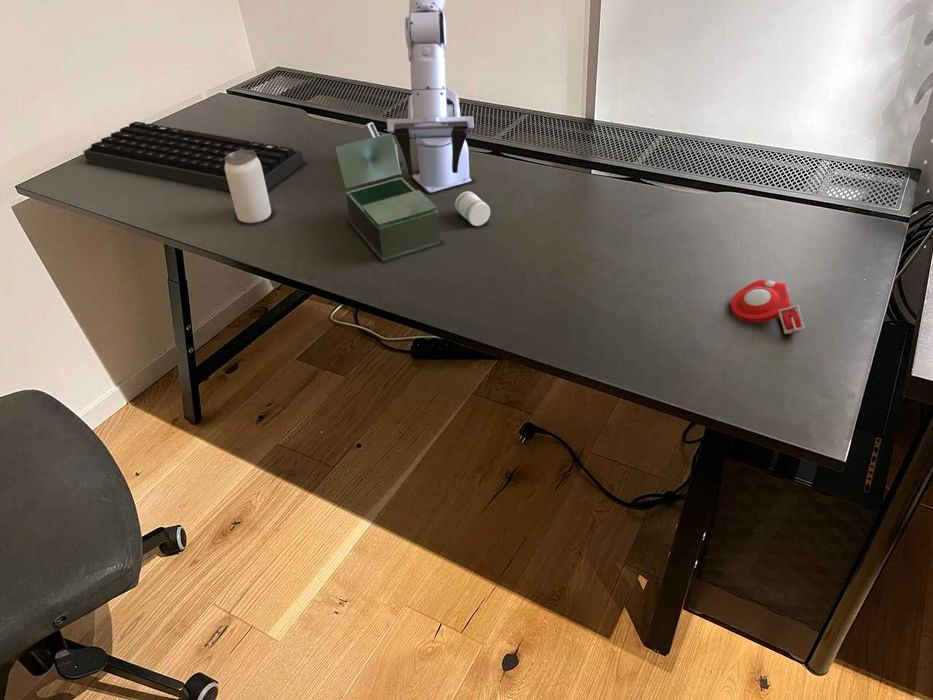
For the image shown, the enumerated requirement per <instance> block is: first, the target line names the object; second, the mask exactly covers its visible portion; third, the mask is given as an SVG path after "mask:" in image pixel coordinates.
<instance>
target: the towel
mask: <svg viewBox="0 0 933 700" xmlns="http://www.w3.org/2000/svg"><path fill="white" fill-rule="evenodd" d="M454 208H455V211H456V212H457V213H458V214H459V215H460V216H462V218H464V219H465V220H466V221H467V222H468V223H469V224H470V225H472V226H474V227H479V226H482V225H484V224H486V223H487V222H488V220H489V219H490V216H491V208H490V206H489V205H488V204H487V203H486V202H485V201H483V200H482V199H481V198H480V197H478V196H477V194H475V192H472V191H470V190H469V191H468V190H467V191H464V192H463V191H462V192H461V193H460V194H459V195H458V196H457V197H456V199H455V203H454Z"/></svg>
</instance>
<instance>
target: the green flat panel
mask: <svg viewBox="0 0 933 700" xmlns="http://www.w3.org/2000/svg"><path fill="white" fill-rule="evenodd" d="M394 144H395V141H394V137H393V133H392V132H389V133H386V134H382V135H379V136H378V137H374V138H370V139H369V138H367V139H366V138H365V139H362V140H359V141H354V142H349V143H346V144H341V145H337V146H334V151H335V155H336V159H337V163H338V167H339V170H340V174H341V178H342V182H343V187H344V189H346V190H347V189H350V188H353V187H358V186H361V185H364V184H368V183H372V182H377V181H380V180H384V179H387V178H391V177H394V176H398V175H401V174H402V171H401V167H400V163H399V162H400V161H399V157H398V158H397V153H396V149H395V145H394Z"/></svg>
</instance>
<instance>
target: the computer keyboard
mask: <svg viewBox="0 0 933 700" xmlns="http://www.w3.org/2000/svg"><path fill="white" fill-rule="evenodd" d="M90 145H91V146H90V147H88V148H87V149H84V150H83V154H84V157H85V159H86V161H87V164H92V165H96V166H102V167H108V168H110V169H111V168H112V169H117V170H122V171H126V172H131V173H136V174H142V175H147V176H151V177H157V178H161V179H166V180H172V181H176V182H181V183H185V184H187V183H188V184H191V185H196V186H201V187H206V188H210V189H215V190H221V191H226V192H230V189H229V185H228V181H227V177H226V173H225V168H224V167H225V162H226V161H225V157H226V156H227V155H228V154H230V153H232V152H235V151H240V150H250V151H253V152H255V153H256V155H257V156H256V157H257V158H258V159H259V160H260V163H261V166H262V171H263V175H264V180H265V184H266V189H267V192H268V191H270V189H272V188H273V187H274V186H276V185H277V184H278V183H280V182H281V181H282V180H284V179H285V178H286V177H287V176H290V174H291V173H293V172H294V171H296V170H297V169H298V168H299V167H301V166H303V164H304V158H303V153H302V151H301V150H295V149H294V148H292V147H287V146H278V145H275V144H270V143H266V144H265V143H264V142H258V141H250V140H246V139H242V138H241V139H240V138H235V137H229V136H223V135H217V134H211V133H205V132H200V131H194V130H187V129H185V130H184V129H182V128H177V127H172V128H171V127H170V126H165V125H158V124H155V123H154V124H153V123H146V122H142V121H133V122H130V123H129V124H128V125H127V126H123V127H121V128H119V131H115V132H112V133H110V136H109V135H108V136H106V137H103V138H100V141H97V142H94V143H91V144H90Z"/></svg>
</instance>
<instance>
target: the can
mask: <svg viewBox="0 0 933 700" xmlns="http://www.w3.org/2000/svg"><path fill="white" fill-rule="evenodd" d="M256 156H257V155H256V153H255V152H253V151H250V150H240V151H235V152H232V153H230V154H228V155H227V156H226V157H225V161H226V162H225V167H224V168H225V173H226V177H227V181H228V185H229V189H230V191H229V192H230V196H231V200H232V203H233V208H234V211H235V214H236V219H237V220H238V221H240V222H241V223H244V224H257V223H261V222H264V221H266V220H268V219H269V218H270V216H271V214H272V207H271V203H270V199H269V194H268V193H269V192H268V191H267V189H266V184H265V180H264V175H263V171H262V166H261V163H260V160H259V159H258V158H257V157H256Z"/></svg>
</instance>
